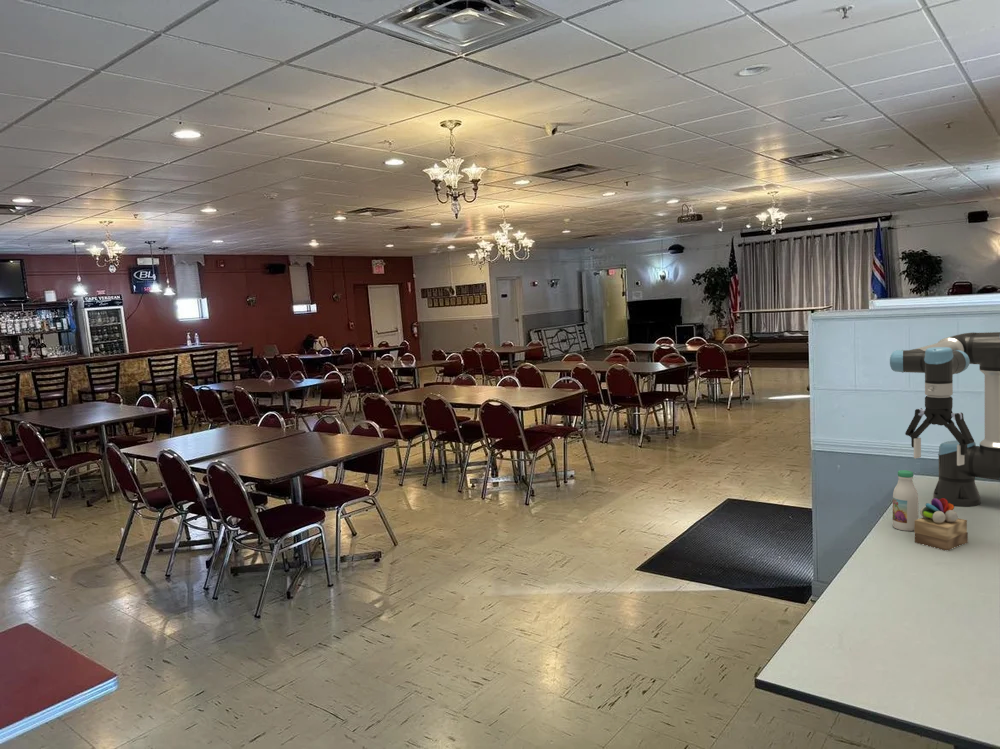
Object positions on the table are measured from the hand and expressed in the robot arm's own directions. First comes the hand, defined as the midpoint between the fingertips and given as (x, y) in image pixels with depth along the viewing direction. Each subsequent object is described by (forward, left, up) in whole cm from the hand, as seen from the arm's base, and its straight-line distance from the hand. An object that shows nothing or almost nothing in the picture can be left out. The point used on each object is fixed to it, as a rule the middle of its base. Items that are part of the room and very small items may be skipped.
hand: (938, 461), depth 225 cm
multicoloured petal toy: (+1, +1, -20) cm, 20 cm away
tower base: (0, +1, -27) cm, 27 cm away
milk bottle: (-5, -14, -27) cm, 31 cm away
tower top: (0, +1, -23) cm, 23 cm away
